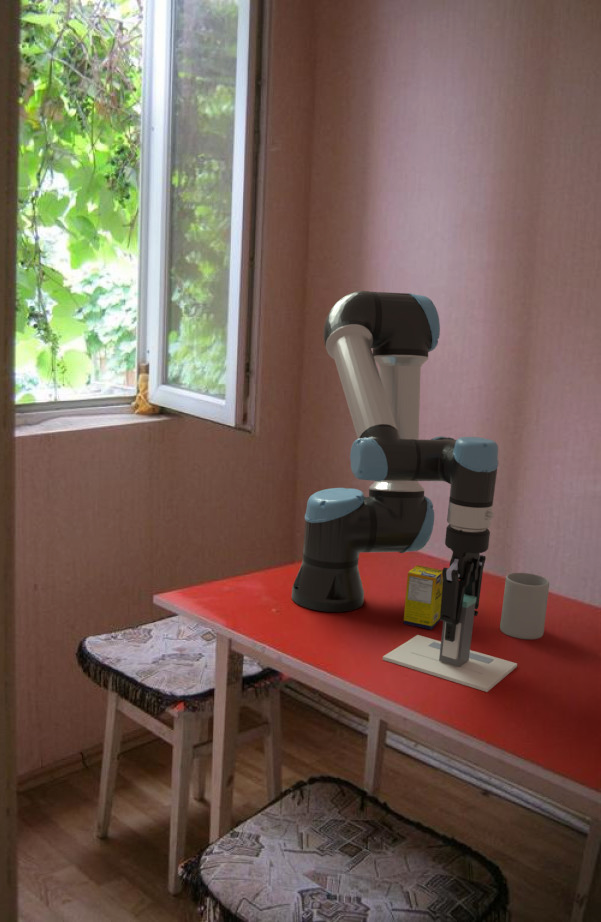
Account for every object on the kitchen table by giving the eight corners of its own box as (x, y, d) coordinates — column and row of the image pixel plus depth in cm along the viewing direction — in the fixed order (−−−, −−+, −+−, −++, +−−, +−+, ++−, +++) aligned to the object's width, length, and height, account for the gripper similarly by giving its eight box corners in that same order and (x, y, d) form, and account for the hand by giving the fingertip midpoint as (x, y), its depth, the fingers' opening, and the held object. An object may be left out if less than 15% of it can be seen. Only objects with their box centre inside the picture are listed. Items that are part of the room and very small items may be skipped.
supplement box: (440, 621, 192) (445, 569, 190) (431, 630, 187) (436, 577, 185) (412, 615, 195) (417, 564, 193) (402, 624, 189) (407, 571, 187)
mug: (551, 639, 187) (557, 585, 185) (511, 640, 185) (517, 586, 183) (523, 617, 198) (529, 566, 196) (485, 618, 196) (491, 566, 194)
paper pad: (382, 659, 171) (382, 656, 171) (417, 637, 183) (417, 634, 183) (487, 692, 161) (487, 688, 161) (516, 666, 172) (517, 663, 172)
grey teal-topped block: (438, 660, 170) (445, 596, 168) (448, 653, 174) (455, 591, 171) (459, 667, 168) (467, 602, 166) (469, 660, 172) (476, 596, 169)
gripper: (468, 540, 157) (454, 673, 162) (507, 522, 171) (493, 645, 176) (427, 531, 161) (415, 661, 166) (468, 514, 175) (456, 634, 180)
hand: (455, 652), depth 171 cm, fingers closed on grey teal-topped block, 4 cm apart
